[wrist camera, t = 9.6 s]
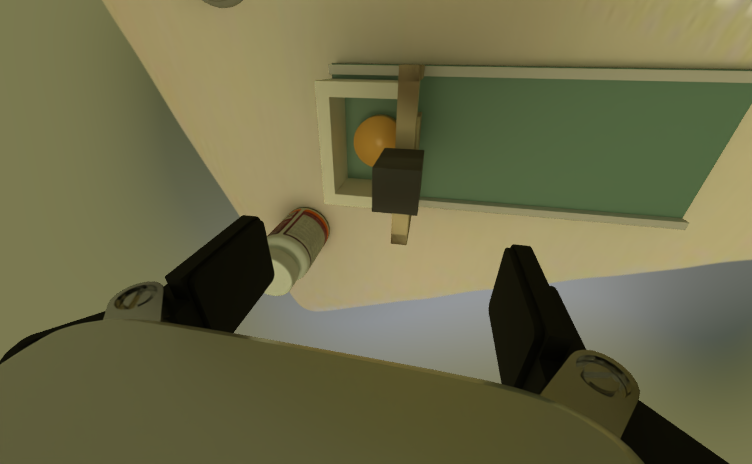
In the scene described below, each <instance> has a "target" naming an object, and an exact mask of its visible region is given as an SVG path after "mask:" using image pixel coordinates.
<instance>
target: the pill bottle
mask: <svg viewBox="0 0 752 464" xmlns="http://www.w3.org/2000/svg"><path fill="white" fill-rule="evenodd" d="M328 236H329V227H328V224H327V221H326V220H325V219H324V217H323V216H322V215H321V214H319V213H318V212H316V211H315V210H312V209H309V208H298V209H296V210H294V211H292V212H291V213H290V214H289V215H288V216H287V217H286V218H285V219H284V220H283V221H282V222H281V223H280V224H279V225H278V226H277V227H276V228H275V229H274V230H273V231H272V232H271V233H270V234H269V235H268V236H267V240H268V245H269V250H270V254H271V259H272V263H273V268H274V273H275V275H274V279H273V281H272V283H271V284H270V285H269V287H268V288H267V289H266V291H265V292H264V293H266V294H268V295H273V296H280V295H284V294H286V293H287V292H289V291H290V289H291V288H292V286H293V285H294V284H295V282H296V281H297V280H299V279H301V278H302V277H303V276H304V275H305V274H306V273H307V271H308V270H309V268H310V267H311V265H312V263H313V262H314V260H315V259H316V257H317V255H318V254H319V252H320V251H321V249H322V247H323V246H324V244H325V243H326V241H327V239H328Z"/></svg>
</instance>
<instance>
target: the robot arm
mask: <svg viewBox="0 0 752 464" xmlns="http://www.w3.org/2000/svg"><path fill="white" fill-rule="evenodd" d="M274 275H275V273H274V268H273V263H272V259H271V254H270V250H269V245H268V240H267V236H266V231H265V226H264V223H263V221H260V219H259V217H256V216H246V215H243V216H241V217H240V218H239V219H237V220H236V221H235V222H233V223H232V224H231V225H230V226H229V227H227V228H226V229H225V230H223V231H222V232H221V233H220V234H219V235H217V236H216V237H215V238H213V239H212V240H211V241H209V242H208V243H207V244H206V245H204V246H203V247H202V248H200V249H199V250H198V251H197V252H196V253H194V254H193V255H192V256H190V257H189V258H188V259H187V260H185V261H184V262H183V263H181V264H180V265H179V266H178V267H176V268H175V269H174V270H173V271H171V272H170V273H169V274H168V275H166V276H165V279H166V281H167V283H168V284H167V285H165V286H164V287H163V285H161V284H160V283H158V282H143V283H139V284H136V285H133V286H130V287H128V288H126V289H124V290H122V291H120V292H119V293H117V294H116V295H115V296H114V297H113V298H112V299H111V300H110V302H109V303H108V306H107V309H106V311H104V312H101V313H98V314H95V315H92V316H89V317H86V318H83V319H80V320H77V321H73V322H70V323H67V324H64V325H61V326H58V327H55V328H52V329H49V330H45V331H43V332H40V333H36V334H33V335H30V336H28V337H26V338H24V339H23V340H21V341H20V342H19V343H17V344H16V345H15V346H14V347H12V348H11V349H10V350H9V351H8V352H7V353H6V354H5V355H4V356H3V358H2V359H1V360H0V464H729V463H728V462H726V461H725V460H723V459H722V458H720V457H719V456H718V455H716V454H715V453H713V452H712V451H711V450H709V449H708V448H706V447H705V446H703V445H702V444H701V443H699V442H698V441H696V440H695V439H693V438H692V437H691V436H689V435H688V434H686V433H685V432H684V431H682V430H680V429H679V428H678V427H676V426H675V425H674V424H672V423H671V422H669V421H668V420H666V419H665V418H664V417H662V416H661V415H659V414H658V413H656V412H655V411H654V410H652V409H651V408H649V407H648V406H646V405H645V404H644V403H642V402H641V401H639V394H640V390H639V387H638V384H637V382H636V381H635V379H634V378H633V376H632V375H631V373H630V372H628V371H627V370H626V369H625V368H624V367H623V366H622V365H621V364H619V363H618V362H616V361H615V360H614V359H612V358H610V357H608V356H606V355H604V354H602V353H599V352H596V351H592V350H586V348H585V346H584V344H583V342H582V340H581V338H580V336H579V334H578V332H577V330H576V328H575V326H574V324H573V322H572V320H571V318H570V316H569V314H568V312H567V310H566V308H565V306H564V304H563V301H562V299H561V297H560V296H559V293H558V291H557V290H556V288H555V287H553V286H549V284H548V282H547V280H546V278H545V276H544V273H543V271H542V269H541V267H540V265H539V263H538V261H537V258H536V256H535V254H534V252H533V250H532V248H531V247H530V246H523V245H514V244H513V245H512V246H511V248H506V249H505V251H504V254H503V257H502V261H501V264H500V268H499V271H498V275H497V278H496V282H495V285H494V289H493V292H492V296H491V299H490V303H489V316H490V322H491V327H492V333H493V338H494V343H495V350H496V355H497V360H498V366H499V372H500V377H501V383H502V384H499V383H495V382H491V381H486V380H482V379H477V378H471V377H467V376H462V375H456V374H452V373H447V372H442V371H437V370H432V369H427V368H421V367H416V366H410V365H405V364H400V363H394V362H389V361H384V360H378V359H373V358H368V357H362V356H357V355H352V354H346V353H341V352H335V351H330V350H324V349H319V348H313V347H308V346H302V345H297V344H291V343H285V342H280V341H274V340H268V339H263V338H257V337H252V336H246V335H240V334H234V331H235V330H236V329H237V327H238V326H239V325H240V323H241V322H242V321H243V320H244V318H245V317H246V316H247V314H248V313H249V312H250V310H251V309H252V308H253V306H254V305H255V304H256V302H257V301H258V300H259V298H260V297H261V296H262V295H263V293H264V292H265V291H266V289H267V288H268V287H269V285H270V284H271V283H272V281H273V279H274Z"/></svg>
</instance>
